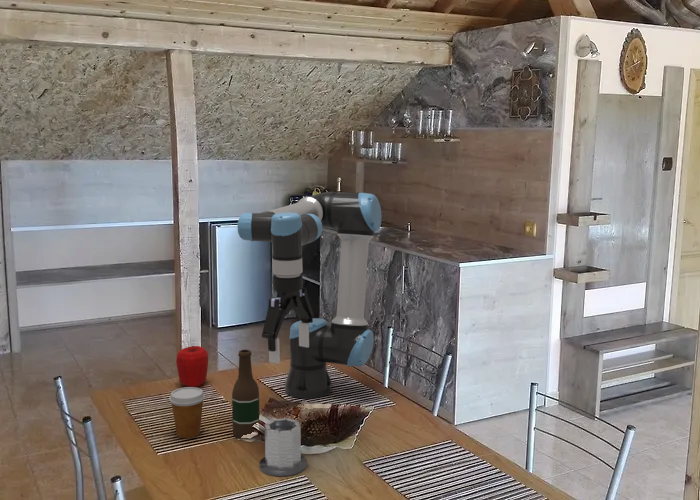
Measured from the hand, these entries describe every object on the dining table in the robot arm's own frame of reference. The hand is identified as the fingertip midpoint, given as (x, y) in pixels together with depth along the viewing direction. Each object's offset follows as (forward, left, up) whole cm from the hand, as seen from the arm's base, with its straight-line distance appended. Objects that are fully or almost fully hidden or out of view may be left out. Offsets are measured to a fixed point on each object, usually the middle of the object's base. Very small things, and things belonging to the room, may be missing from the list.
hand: (289, 354), depth 182 cm
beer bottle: (+6, -15, -27) cm, 31 cm away
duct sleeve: (+5, +7, -26) cm, 27 cm away
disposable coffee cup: (+20, -23, -27) cm, 41 cm away
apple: (+7, -59, -27) cm, 65 cm away
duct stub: (+5, +7, -26) cm, 28 cm away
